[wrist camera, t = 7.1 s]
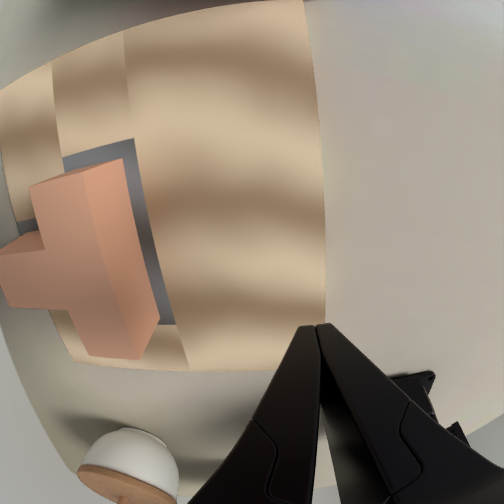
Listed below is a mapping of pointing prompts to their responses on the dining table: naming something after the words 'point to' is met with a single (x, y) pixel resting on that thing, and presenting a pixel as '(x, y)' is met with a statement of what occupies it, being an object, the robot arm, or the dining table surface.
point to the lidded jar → (131, 468)
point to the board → (193, 174)
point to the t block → (85, 261)
